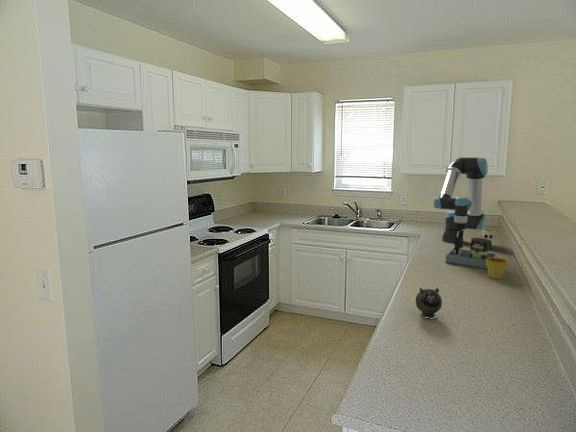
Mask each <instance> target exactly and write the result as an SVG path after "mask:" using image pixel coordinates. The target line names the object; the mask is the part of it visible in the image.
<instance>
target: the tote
mask: <svg viewBox="0 0 576 432" xmlns="http://www.w3.org/2000/svg"><path fill="white" fill-rule="evenodd" d="M454 248H455V247H452V249H450V250H449V252H447V253H446V254H445V263H446V264H452V265H457V266H458V265H459V266H465V267H473V268H479V269H487V270H488V268H487V265H486V260H483V259H476V258H470V249H463V248H462V251H463V257H462V256H454V255H453V251H454V250H455V249H454ZM498 254H499V253H493V252H489V253H488V258H490V257H496V258H498V257H499V256H498Z"/></svg>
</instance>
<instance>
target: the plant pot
mask: <svg viewBox="0 0 576 432" xmlns="http://www.w3.org/2000/svg"><path fill="white" fill-rule="evenodd" d="M508 263H509V262H508V259H505V258H501V257H497V258H496V257H490V258H487V259H486V265H487V268H488V269H487V274H488V277H489V278H491V279H495V280H500V279H503V276H504V273H505V271H506V269H507V268H508Z"/></svg>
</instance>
